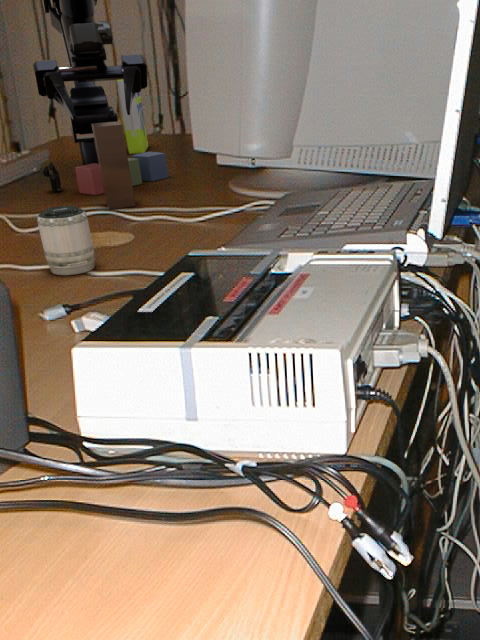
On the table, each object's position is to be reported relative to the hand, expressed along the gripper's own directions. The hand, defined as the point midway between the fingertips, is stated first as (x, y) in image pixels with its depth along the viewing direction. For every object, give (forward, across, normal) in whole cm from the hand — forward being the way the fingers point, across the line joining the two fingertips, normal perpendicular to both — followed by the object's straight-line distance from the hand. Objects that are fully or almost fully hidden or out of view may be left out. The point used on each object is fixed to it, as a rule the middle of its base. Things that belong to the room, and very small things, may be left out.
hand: (101, 115), depth 155 cm
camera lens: (+43, -11, -24) cm, 50 cm away
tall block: (+15, 0, +4) cm, 16 cm away
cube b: (+2, +3, +17) cm, 17 cm away
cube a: (-1, +8, +20) cm, 22 cm away
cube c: (+5, -3, +14) cm, 15 cm away
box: (-27, +11, +47) cm, 55 cm away
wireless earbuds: (+2, -10, +18) cm, 21 cm away
